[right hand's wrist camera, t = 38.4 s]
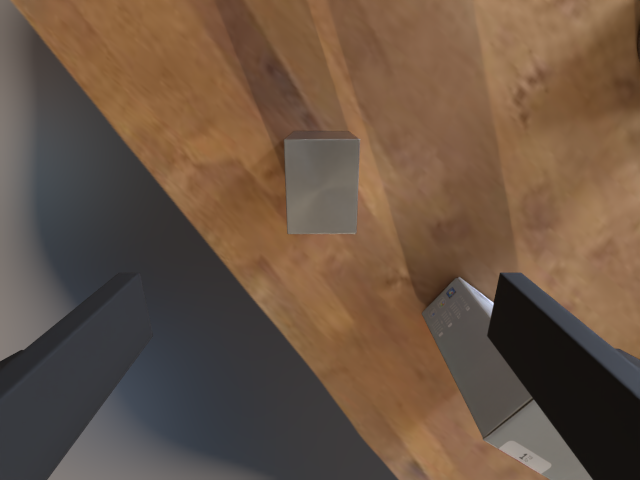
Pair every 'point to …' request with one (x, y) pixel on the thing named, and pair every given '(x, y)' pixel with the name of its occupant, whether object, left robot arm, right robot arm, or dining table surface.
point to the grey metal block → (321, 182)
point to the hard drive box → (495, 385)
